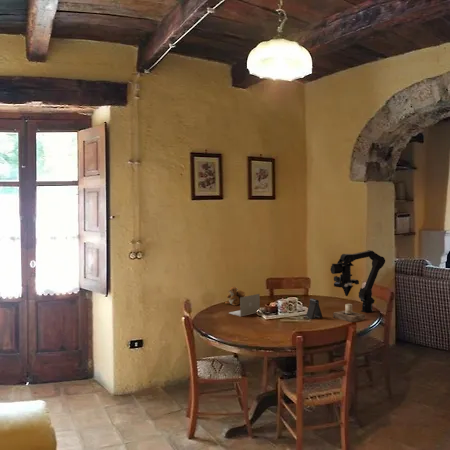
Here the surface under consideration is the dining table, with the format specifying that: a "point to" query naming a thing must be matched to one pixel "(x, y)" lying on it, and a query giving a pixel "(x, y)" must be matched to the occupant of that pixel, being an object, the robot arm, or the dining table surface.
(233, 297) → the stuffed squirrel
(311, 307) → the phone stand
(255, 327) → the dining table surface
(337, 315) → the walnut board
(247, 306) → the laptop
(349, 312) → the birch peg
